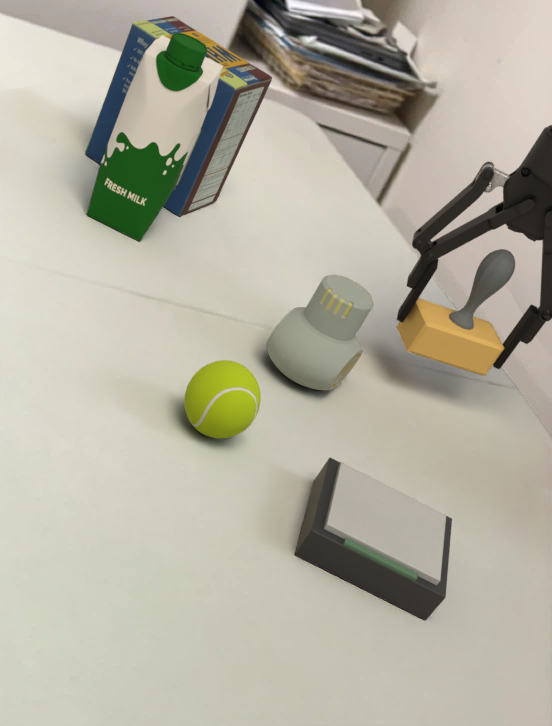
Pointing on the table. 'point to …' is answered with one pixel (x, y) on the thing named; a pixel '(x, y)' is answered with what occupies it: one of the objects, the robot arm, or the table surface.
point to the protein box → (220, 127)
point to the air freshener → (322, 334)
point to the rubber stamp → (460, 322)
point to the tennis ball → (222, 399)
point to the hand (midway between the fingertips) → (448, 339)
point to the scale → (377, 538)
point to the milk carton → (154, 133)
